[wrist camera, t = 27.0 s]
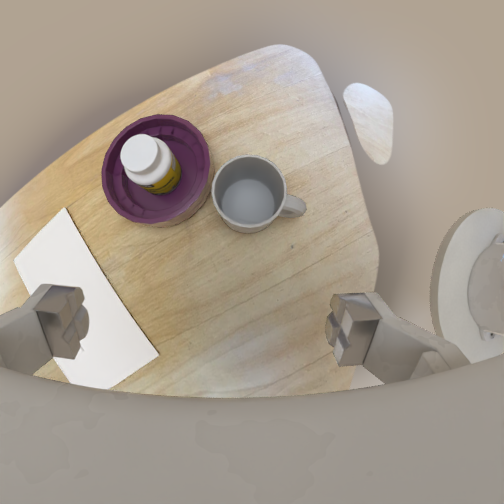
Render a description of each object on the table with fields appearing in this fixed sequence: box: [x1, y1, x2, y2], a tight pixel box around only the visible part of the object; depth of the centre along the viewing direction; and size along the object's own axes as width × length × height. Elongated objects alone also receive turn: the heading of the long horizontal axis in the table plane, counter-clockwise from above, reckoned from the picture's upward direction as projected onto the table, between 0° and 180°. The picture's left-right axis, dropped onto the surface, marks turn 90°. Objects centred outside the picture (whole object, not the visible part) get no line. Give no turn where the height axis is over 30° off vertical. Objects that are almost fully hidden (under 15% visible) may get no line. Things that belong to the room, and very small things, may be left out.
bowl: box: [101, 114, 214, 228], centre depth 35 cm, size 13×13×5 cm
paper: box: [13, 207, 159, 390], centre depth 36 cm, size 25×17×1 cm
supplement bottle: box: [120, 134, 182, 195], centre depth 32 cm, size 5×5×10 cm
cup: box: [212, 154, 307, 233], centre depth 33 cm, size 7×10×9 cm
